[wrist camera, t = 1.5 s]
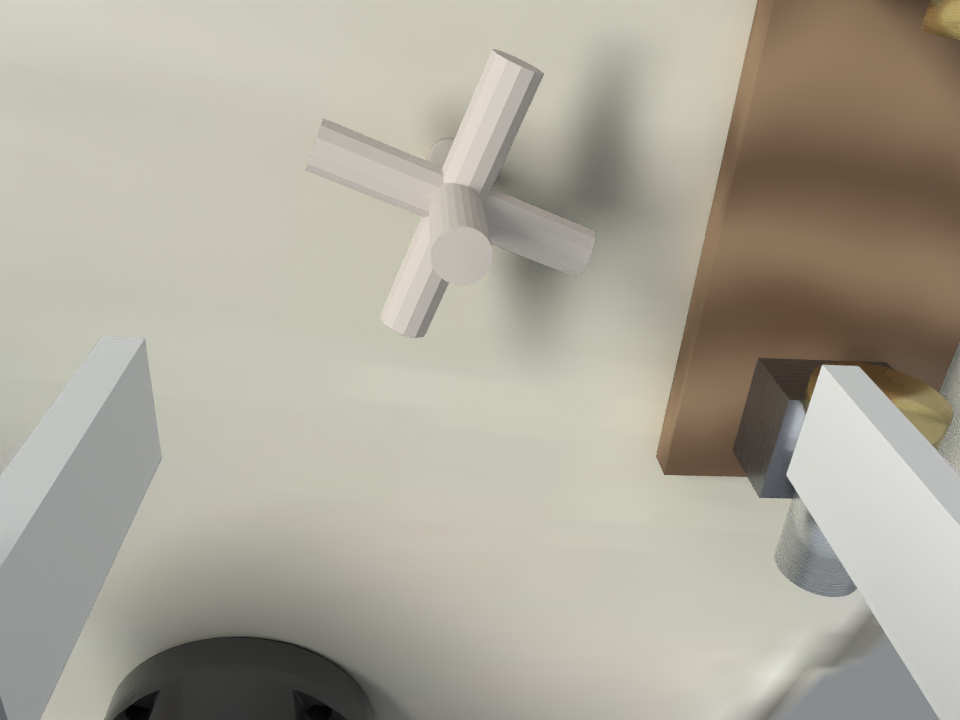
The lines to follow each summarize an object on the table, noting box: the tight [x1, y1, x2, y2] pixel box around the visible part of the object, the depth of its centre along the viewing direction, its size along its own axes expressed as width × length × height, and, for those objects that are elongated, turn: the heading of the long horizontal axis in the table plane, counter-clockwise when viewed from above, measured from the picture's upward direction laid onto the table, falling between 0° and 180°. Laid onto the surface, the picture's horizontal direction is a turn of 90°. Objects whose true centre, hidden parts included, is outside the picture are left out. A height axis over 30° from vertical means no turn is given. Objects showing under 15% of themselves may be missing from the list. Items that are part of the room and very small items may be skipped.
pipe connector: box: [306, 49, 596, 338], centre depth 28 cm, size 10×10×10 cm
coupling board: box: [656, 0, 960, 477], centre depth 33 cm, size 28×12×2 cm, turn 176°
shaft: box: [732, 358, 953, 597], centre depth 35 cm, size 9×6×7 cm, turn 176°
